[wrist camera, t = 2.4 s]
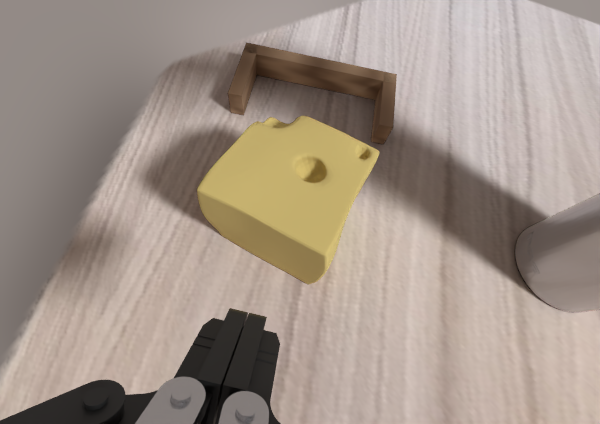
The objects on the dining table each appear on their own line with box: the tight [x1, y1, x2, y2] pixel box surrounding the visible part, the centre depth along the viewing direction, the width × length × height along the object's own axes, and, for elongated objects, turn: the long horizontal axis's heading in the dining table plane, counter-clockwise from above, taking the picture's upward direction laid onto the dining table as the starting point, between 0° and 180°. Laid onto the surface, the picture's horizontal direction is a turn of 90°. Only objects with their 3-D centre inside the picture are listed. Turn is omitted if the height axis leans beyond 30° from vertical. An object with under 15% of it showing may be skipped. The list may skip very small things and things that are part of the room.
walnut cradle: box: [228, 43, 397, 144], centre depth 37 cm, size 18×8×3 cm, turn 80°
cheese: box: [197, 116, 379, 284], centre depth 27 cm, size 10×11×10 cm
